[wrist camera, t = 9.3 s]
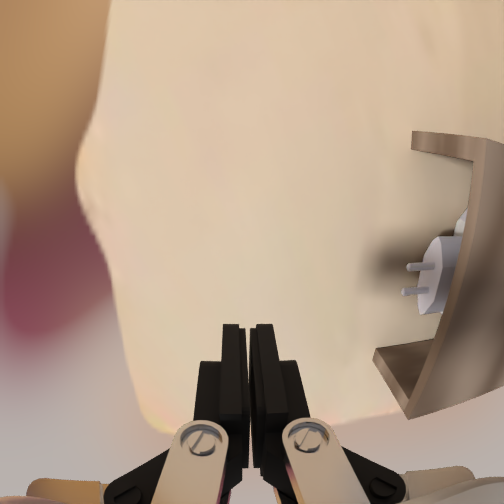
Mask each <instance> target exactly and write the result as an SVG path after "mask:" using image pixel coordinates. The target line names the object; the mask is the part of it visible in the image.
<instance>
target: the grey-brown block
mask: <svg viewBox="0 0 504 504" xmlns="http://www.w3.org/2000/svg"><path fill="white" fill-rule="evenodd" d="M411 149H413V150H419V151H424V152H430V153H435V154H441V155H446V156H451V157H456V158H461V159H465V160H470V161H474V163H473V172H472V181H471V189H470V196H469V203H468V209H467V215H466V221H465V227H464V232H463V237H462V242H461V246H460V251H459V255H458V260H457V264H456V268H455V272H454V276H453V280H452V283H451V287H450V291H449V294H448V298H447V301H446V304H445V308H444V311H443V314H442V317H441V320H440V323H439V326H438V329H437V332H436V335H435V338H434V339H432V340H426V341H421V342H415V343H409V344H403V345H397V346H390V347H383V348H376V350H375V353H374V357H373V362H374V364H375V365H376V367H377V368H378V370H379V372H380V373H381V375H382V377H383V378H384V380H385V382H386V383H387V385H388V387H389V388H390V390H391V392H392V393H393V395H394V397H395V398H396V400H397V402H398V404H399V405H400V407H401V409H402V410H403V412H404V414H405V415H406V417H407V419H408V420H410V419H413V418H417V417H420V416H423V415H427V414H430V413H433V412H436V411H439V410H442V409H445V408H448V407H451V406H454V405H457V404H459V403H462V402H465V401H467V400H470V399H473V398H476V397H478V396H481V395H483V394H485V393H488V392H490V391H492V390H494V389H497V388H499V387H502V386H504V144H502V143H499V142H496V141H493V140H489V139H486V138H479V137H471V136H463V135H454V134H444V133H433V132H420V131H412V145H411Z"/></svg>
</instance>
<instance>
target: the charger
mask: <svg viewBox="0 0 504 504" xmlns="http://www.w3.org/2000/svg"><path fill="white" fill-rule="evenodd" d="M467 209H468V208H467ZM467 209H466V210H465V211H464V213H463V214H462V215H461V217H460V218H459V219H458V221H457V223H456V226H455V231H454V236H438V237H436V238H435V239H434V240H432V242H431V244H430V246H429V247H428V249H427V251H426V252H425V254H424V257H423V262H422V263H408V264H407V266H406V268H407V271H420V276H419V280H418V284H417V287H409V288H403V289H402V290H401V294H402V296H406V295H417V294H418V309H419V314H420V315H422V314H429V313H436V312H440V313H441V314H443V311H444V308H445V304H446V301H447V298H448V294H449V291H450V287H451V283H452V280H453V276H454V272H455V268H456V264H457V260H458V255H459V251H460V246H461V242H462V237H463V232H464V227H465V221H466V215H467Z"/></svg>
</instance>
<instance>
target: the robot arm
mask: <svg viewBox="0 0 504 504" xmlns="http://www.w3.org/2000/svg"><path fill="white" fill-rule="evenodd" d="M250 421H251V436H252V452H253V466H254V468H260V474H261V476H263V480H265V481H266V482H268V483H269V484H271V485H272V486H273V489H274V493H275V497H276V500H277V503H278V504H504V477H486V478H479V479H475V477H474V475H473V473H472V472H471V471H470V470H469V469H468V468H466V467H463V466H453V467H446V468H438V469H429V470H419V471H407V472H406V473H405V474H397V473H396V472H394V471H392V470H390V469H387V468H385V467H383V466H381V465H379V464H377V463H375V462H372V461H370V460H368V459H366V458H364V457H362V456H360V455H358V454H356V453H354V452H351V451H350V450H348V449H346V448H344V447H342V446H341V445H340V443H339V441H338V439H337V437H336V435H335V433H334V431H333V430H332V428H331V427H330V426H329V425H328V424H326V423H325V422H324V421H321V420H319V419H315V418H310V413H309V409H308V405H307V401H306V397H305V393H304V389H303V385H302V381H301V377H300V373H299V369H298V365H297V362H296V360H288V361H279V356H278V350H277V345H276V340H275V334H274V329H273V324H256V328H250V351H249V383H248V367H247V349H246V332H245V328H239V324H223V337H222V359H221V362H220V361H201V362H200V367H199V375H198V384H197V392H196V401H195V410H194V419H193V421H191V422H189V423H186V424H184V425H183V426H182V427H180V428H179V429H178V430H177V432H176V434H175V436H174V439H173V442H172V444H171V447H170V449H168V450H166V451H165V452H163V453H161V454H160V455H158V456H156V457H155V458H153V459H151V460H150V461H148V462H146V463H144V464H143V465H141V466H139V467H138V468H136V469H134V470H132V471H130V472H129V473H127V474H125V475H123V476H121V477H119V478H118V479H116V480H114V481H113V482H111V483H110V484H101V483H100V481H78V480H77V481H76V480H61V479H49V478H39V479H37V480H34V481H33V482H32V483H31V484H30V485H29V486H28V489H27V493H26V496H6V497H0V504H229V501H230V496H231V489H232V488H233V487H234V486H236V485H237V484H238V483H239V482H241V481H242V468H248V464H249V437H250Z"/></svg>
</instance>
